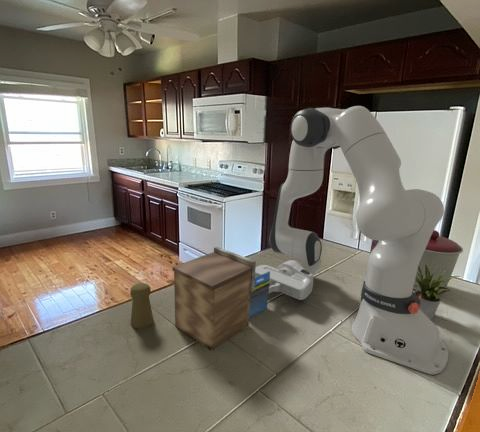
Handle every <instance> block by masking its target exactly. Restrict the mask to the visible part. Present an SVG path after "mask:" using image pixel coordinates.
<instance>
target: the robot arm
mask: <svg viewBox="0 0 480 432" xmlns="http://www.w3.org/2000/svg"><path fill="white" fill-rule="evenodd" d="M290 134H291V138H292V141H291V146H290V152H289V159H288V172H287V176H286V177H287V178H286V179H285V182H283V183H281V185H280V186H279V189H278V193H277V198H276V203H275V208H274V209H275V210H274V214H273V215H274V216H273V221H272V226H271V230H270V234H269V237H268V243H269V246H270V247H271V249H272V251H273V252H274V253H276V254H277V253H278V254H283V255H288V256H292V258H291V259H289V260H287V261H285V262H283V263H281V264H280V265H278V266H277V268H276V267H273V266H271V265H268V264H260V265H258V266H257V265H256V267H255V277H257V276H260V275H262V274H264V273H267V272H269V271H270V282H269V293H268V294H270V293H274V292H275V293H277V292H280V293H282V294H284V295H286V296H289V297H291V298H294V299H295V300H299V301H301V300H302V301H303V300H305V299H307V298H308V297H309V295H310V294H311V293H312V291H313V287H314V276H315V275H316V274H317V273H318V271H319V270H320V268H321V266H322V259H321V255H322V250H323V249H322V248H323V246H322V244H323V243H322V241H321V239H320V237H319V235H318V234H317V233H316V232H314V231H309V230H304V229H300V228H295V227H291V225H289V219H290V213H291V208H292V204H293V202H294V201H295V200H297V199H299V198H300V199H301V198H304V197H307V196H309V195H313V194H314V193H316V192H317V191H318V190H319V189H320V188H321V186H322V183H323V180H324V168H325V167H324V159H325V154H326V152H327V151H328V150H329V149H332V150H336V149H339V148H340V149H341V151H342V154H343V155H344V158H345V160H346V161H347V163H348V165H349V166H348V167H349V168H350V170H351V172H352V174H353V177H354V178H355V182H356V185H357V188H358V194H359V204H358V208H357V210H356V213H355V222H356V225H357V228H358V230H359V231H360V233H361V234H362V235H364V237H366V238H368V239H370V240H371V241H372V240H379V242H378V244H377V245H376V247H375V248H374V249H373V250H372V252H371V253H370V252H369V255H368V256H369V257H368V262H367V267H366V268H367V269H366V275H365V280H364V281H363V283H362V285H361V291H360V305H359V309H358V311H357V314H356V317H355V319H354V320H353V322H352V325H351V333H352V334H353V336H354V337H355V338H356V340H358V342H359V343H360V344H361V347H362V350H363V351H364V352H366V353H368V354H370V355H373V356H376V357H378V358H382V359H385V360H388V361H391V362H394V363H396V364H399V365H401V366H405V367H408V368H410V369H414V370H417V371H419V372H422V373H425V374H428V375H431V376H433V375H437V374H439V373H441V372H443V371H444V370H445V368H446V367H447V364H448V361H449V350H448V348H447V346H446V344H445V343H443V342H442V341H441V337H440V331H439V328H438V326H437V325H436V324H435V323H434V322H433V321H432V319H429V318H428V317H427V316H426V315H425V314H424V313H423V312H422V311H421V310H420V309H419V307H420V302H421V295H420V296H419V297H417V295H416V294H415V293H414V289H413V288H414V283H415V279H416V274H417V270H418V266H419V263H420V260H421V257H422V255H423V253H424V251H425V249H426V246H427V244H428V242H429V240H430V237H431V235H432V233H433V230H435V229H436V227H437V226H438V224H439V223H440V222H441V220H442V218H443V216H444V212H445V208H444V203H443V201H442V199H441V198H440V197H439V195H437V194H435V193H433V192H431V191H429V190H423V189H420V188H414V189H405V187H404V186H403V185H404V184H403V182H402V179H401V174H400V168H401V165H402V161H401V157H400V155H398V153H397V151H396V149H395V147H394V145H393V143H392V142H391V140H390V138H389V136H388V134H387V133H386V131H385V130H384V128H383V127H382V125H381V123H380V121H378V119H377V118H376V117H375V115H373V113H372V112H371V111H370V110H369V109H368V108H366V107H365V106H364V105H363V106H362V105H354V106H351V107H348V108H343V109H341V108H333V107H315V108H313V107H309V108H303V109H301V110H299V111H297V112H296V113H295V114H294V116H293V117H292V120H291V122H290ZM260 279H261V278H260ZM262 279H263V278H262Z"/></svg>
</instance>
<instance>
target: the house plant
mask: <svg viewBox="0 0 480 432" xmlns="http://www.w3.org/2000/svg"><path fill="white" fill-rule="evenodd" d="M424 265H425V277H423V275H422V272H421V269H420V267H419V266H418V269H419V272H420V274H421V276H420V275H419V273H418V272H417V273H418V275H419V277H420V278H421V277H422V278H421V280H422V281H421V280H420V278H419V277H417V275H416V279H415V281H417V282H418V284H419V287H420V289H421V290H415V291H414V290H413V292H414V293H415V294H416V295H417V297H419V296H420V295H421V302H420V307H419V309H420V310H421V311H422V312H423V313H424V314H425V315H426V316H427V317H428V318H429V319H430V320H432V319H434V316H435V314H436V312H437V310H438V307H439V305H440V304H441V302H442V298H441V297H440V294H443V293H447V292H451V293H453V291H452V290H451V289H450V288H448V287H446V288H445V287H439V286H440V285H441V284H443V283H444V282H446V281H448V280H449V281H450V280H452V279H455V278H459V277H460V275H453V276H452V275H451V277H449V278H447V279H445V280H441V281H439V280H440V278H441V277H442V276H443V274H444V272H445V270H444V271H443V272H442V273H441V274H440V276H439V277H438V278H437V279H433V281H432V283H431V280H432V277H433V275H434V274H435V273H434V274H432V275H431V276H430V271H429V269H428V267H427V265H426V263H424ZM438 266H439V265H438ZM438 266H437V267H438ZM435 269H436V268H435ZM433 272H434V271H433ZM436 273H437V272H436ZM422 282H423V283H422ZM430 283H431V286H430ZM417 286H418V285H415V284H414V287H417ZM429 288H430V289H429ZM440 289H444V290H443V291H442V292H440V293H438V292H439V291H440Z"/></svg>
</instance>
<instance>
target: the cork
mask: <svg viewBox="0 0 480 432" xmlns="http://www.w3.org/2000/svg"><path fill="white" fill-rule="evenodd" d="M129 292H130V293H129V294H130V297H131V298H132V301H131V302H132V305H131V314H130V326H131V327H132V328H134V329H138V330H139V329H145V328H148V327H150V326H151V325H152V324H154V314H153V311H152V306H151V301H150V295H151V292H152V291H151V286H150V284H148V283H145V282H137V283H135V284H133V285H132V286H131V287H130V291H129Z"/></svg>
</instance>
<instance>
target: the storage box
mask: <svg viewBox="0 0 480 432" xmlns="http://www.w3.org/2000/svg"><path fill="white" fill-rule="evenodd" d="M173 278H174V279H173V283H174V326H175V327H176V328H177V329H179V330H180V331H182V332H184V333H185V334H186V335H188V336H189V337H190V338H192V339H194V340H195V341H196V342H198V343H200V344H201V345H203V346H204V347H206V348H207V349H208V350H210V351H214V349H216V348H218V347H219V346H220V345H222V344H224V343H225V342H226V341H228V340H230V339H231V338H232V337H233V336H235V335H236V334H238V333H240V332H241V331H243V330H244V329H245V328H247V327H249V326H250V325H249V324H250V323H249V322H250V318H249V306H250V286H251V272H249V273H247V274H245V275H243V276H241V277H238V278H236V279H234V280H232V281H230V282H228V283H226V284H224V285H222V286H220V287H218V288H216V289H214V290H210V289H208V288H206V287H204V286H202V285H200V284H198V283H196V282H194V281H192V280H190V279H188V278H186V277H184V276H182V275H180V274H178V273H176V272H174V271H173Z"/></svg>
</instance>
